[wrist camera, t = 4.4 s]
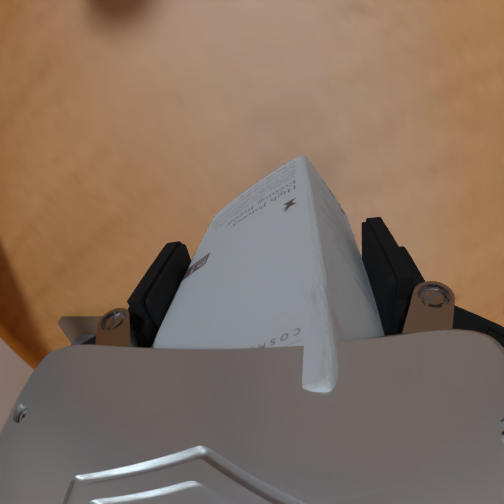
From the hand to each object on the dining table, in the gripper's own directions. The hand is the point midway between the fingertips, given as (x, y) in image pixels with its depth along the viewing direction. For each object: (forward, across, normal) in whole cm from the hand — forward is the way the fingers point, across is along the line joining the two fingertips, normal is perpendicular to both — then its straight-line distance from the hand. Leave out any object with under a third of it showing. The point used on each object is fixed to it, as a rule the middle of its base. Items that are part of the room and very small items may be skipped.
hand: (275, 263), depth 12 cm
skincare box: (+5, 0, 0) cm, 5 cm away
